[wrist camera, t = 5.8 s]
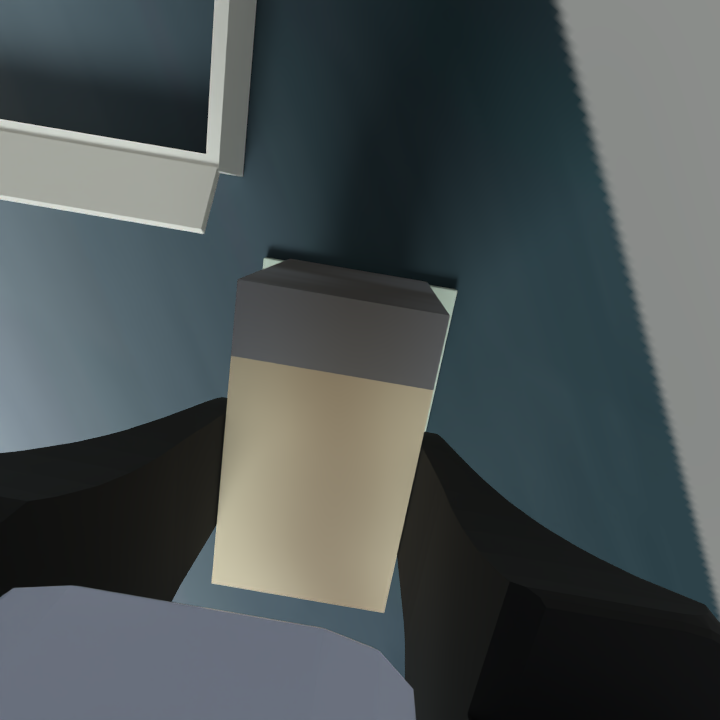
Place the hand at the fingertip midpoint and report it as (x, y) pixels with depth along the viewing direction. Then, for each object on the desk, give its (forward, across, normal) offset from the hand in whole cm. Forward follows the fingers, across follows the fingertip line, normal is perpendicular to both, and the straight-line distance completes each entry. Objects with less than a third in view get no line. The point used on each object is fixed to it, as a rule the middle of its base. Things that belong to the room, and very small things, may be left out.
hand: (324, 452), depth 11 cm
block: (+3, 0, 0) cm, 3 cm away
